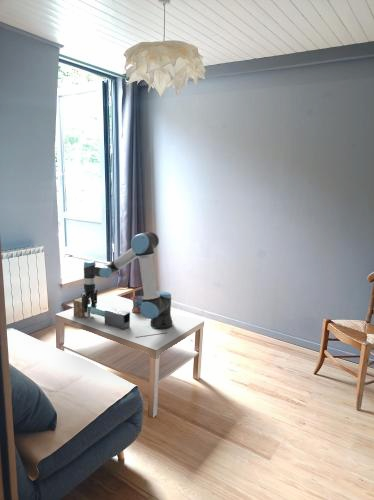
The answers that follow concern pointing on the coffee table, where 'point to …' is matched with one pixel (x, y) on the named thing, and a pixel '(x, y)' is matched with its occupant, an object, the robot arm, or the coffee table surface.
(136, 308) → the mug
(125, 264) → the robot arm
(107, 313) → the sleeve
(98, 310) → the teal square bar
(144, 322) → the coffee table surface
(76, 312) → the socket
